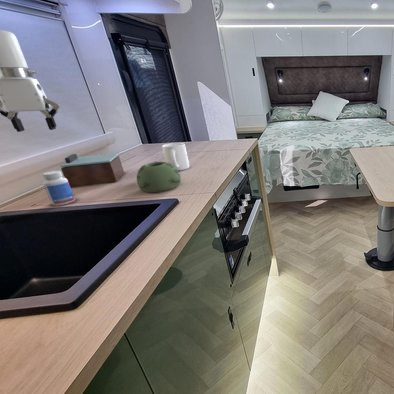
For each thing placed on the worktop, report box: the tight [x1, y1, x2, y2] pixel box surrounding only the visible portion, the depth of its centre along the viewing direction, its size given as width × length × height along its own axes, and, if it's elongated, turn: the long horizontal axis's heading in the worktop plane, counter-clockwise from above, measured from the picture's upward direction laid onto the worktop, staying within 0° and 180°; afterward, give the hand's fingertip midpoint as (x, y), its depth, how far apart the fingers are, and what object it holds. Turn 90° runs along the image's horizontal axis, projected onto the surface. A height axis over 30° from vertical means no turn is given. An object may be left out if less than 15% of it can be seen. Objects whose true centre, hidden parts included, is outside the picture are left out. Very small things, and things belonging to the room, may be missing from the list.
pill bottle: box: [42, 170, 76, 206], centre depth 89 cm, size 6×5×10 cm
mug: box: [161, 142, 191, 172], centre depth 120 cm, size 12×8×10 cm
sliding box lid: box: [59, 152, 119, 168], centre depth 108 cm, size 14×13×2 cm
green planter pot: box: [136, 160, 182, 193], centre depth 102 cm, size 16×13×9 cm
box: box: [60, 155, 125, 189], centre depth 110 cm, size 14×13×7 cm
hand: (37, 129), depth 99 cm, fingers open, 7 cm apart
